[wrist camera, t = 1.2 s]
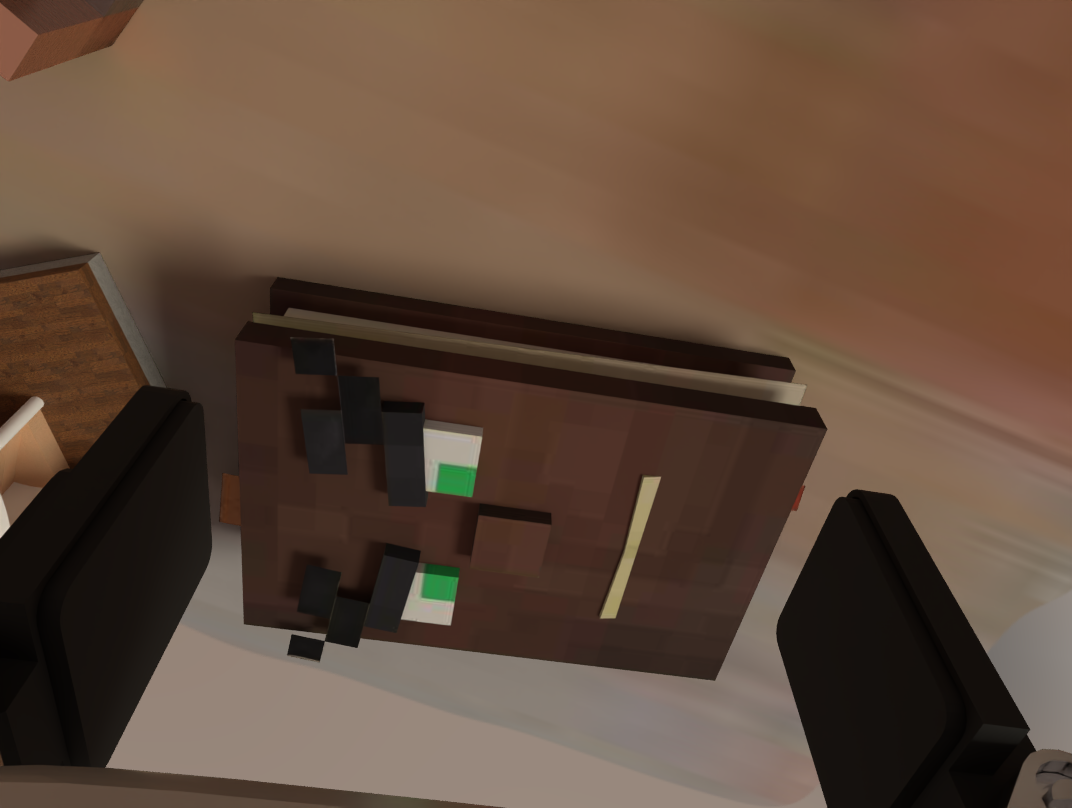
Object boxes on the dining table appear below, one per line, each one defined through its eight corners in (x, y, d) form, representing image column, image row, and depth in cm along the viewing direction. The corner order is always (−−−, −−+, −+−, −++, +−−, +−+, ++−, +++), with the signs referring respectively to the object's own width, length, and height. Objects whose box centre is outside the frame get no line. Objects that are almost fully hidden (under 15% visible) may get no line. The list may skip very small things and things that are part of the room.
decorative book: (753, 712, 44) (192, 647, 41) (725, 608, 50) (238, 546, 47) (897, 424, 34) (164, 312, 31) (840, 340, 40) (228, 241, 37)
